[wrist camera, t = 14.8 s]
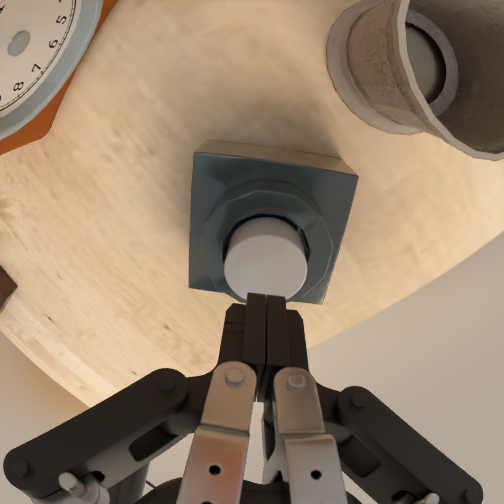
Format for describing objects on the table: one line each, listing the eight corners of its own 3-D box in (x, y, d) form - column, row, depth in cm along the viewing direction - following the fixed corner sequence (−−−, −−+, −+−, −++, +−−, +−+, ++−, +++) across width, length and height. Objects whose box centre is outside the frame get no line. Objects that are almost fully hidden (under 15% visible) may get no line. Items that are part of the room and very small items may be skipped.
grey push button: (295, 285, 17) (298, 308, 16) (225, 276, 17) (221, 299, 16) (310, 222, 15) (316, 241, 14) (232, 211, 15) (227, 229, 14)
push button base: (315, 272, 24) (326, 325, 18) (199, 257, 23) (181, 307, 18) (343, 159, 19) (370, 187, 14) (207, 139, 19) (183, 160, 14)
